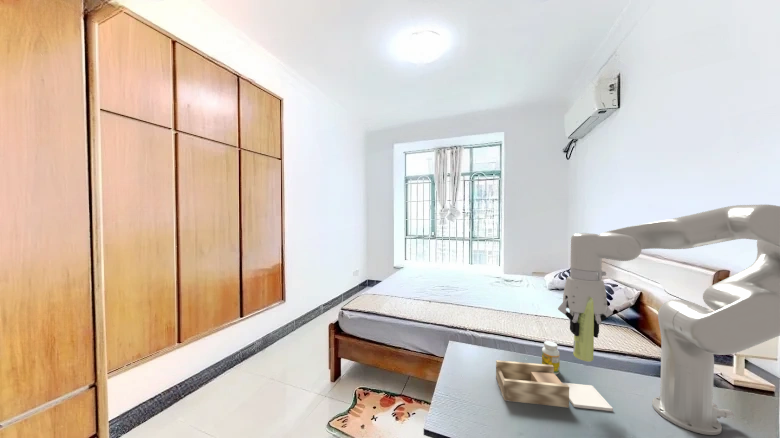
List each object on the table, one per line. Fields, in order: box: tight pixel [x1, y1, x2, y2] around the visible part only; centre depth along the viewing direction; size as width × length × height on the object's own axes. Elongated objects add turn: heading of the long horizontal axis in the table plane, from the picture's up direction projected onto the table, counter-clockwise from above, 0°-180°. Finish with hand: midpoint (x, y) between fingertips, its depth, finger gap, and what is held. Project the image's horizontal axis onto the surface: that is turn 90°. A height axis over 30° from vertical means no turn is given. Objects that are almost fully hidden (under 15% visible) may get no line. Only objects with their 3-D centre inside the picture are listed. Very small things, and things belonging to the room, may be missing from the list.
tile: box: [562, 382, 614, 412], centre depth 80 cm, size 10×10×1 cm
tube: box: [572, 297, 595, 362], centre depth 79 cm, size 6×5×20 cm
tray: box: [495, 359, 570, 408], centre depth 82 cm, size 18×11×6 cm, turn 80°
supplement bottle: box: [541, 340, 561, 375], centre depth 93 cm, size 5×5×10 cm
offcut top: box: [531, 372, 563, 384], centre depth 81 cm, size 7×6×2 cm
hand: (584, 334), depth 79 cm, fingers closed on tube, 4 cm apart
